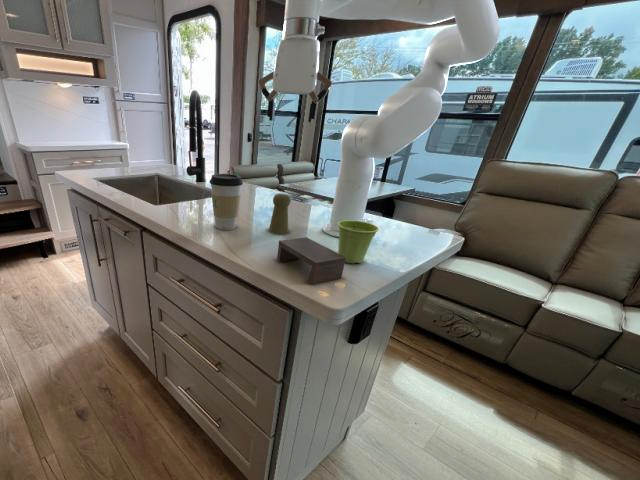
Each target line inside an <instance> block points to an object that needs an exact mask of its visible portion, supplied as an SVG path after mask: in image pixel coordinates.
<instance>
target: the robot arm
mask: <svg viewBox="0 0 640 480" xmlns="http://www.w3.org/2000/svg"><path fill="white" fill-rule="evenodd" d="M320 17H324V18H330V19H337V20H350V21H351V20H354V21H355V20H370V21H371V20H372V21H375V20H376V21H377V20H391V21H392V20H393V21H400V22H404V23H405V22H406V23H412V24H419V25H434V24H437V23H441V22H445V21H448V20H451V19H454V20H455V24H452V25H449V26H447V27H444V28H443V29H441V30H440V31H438V32H437V33H436V34H435V35H434V36H433V37H432V39H431V40H430V41H429V43H428V45H427V48H426V51H425V54H424V59H423V64H422V67H421V69H420V72H419V73H418V74H416V76H415V77H413V78H412V79H411V80H410V81H409V82H407V83H406V84H404V85H402V87H400V88H399V89H397V90H396V91H395V92H393V93H392V94H390V95H389V96H388V97H387V98H386V99H384V101H382V103H381V105H380V106H379V108H378V111H377V115H359V116H357V117H355V118H353V119H352V120H350V121H349V122H348V123H347V125H346V126H345V128H344V129H343V132H342V135H341V142H340V143H341V144H340V164H339V168H338V169H339V170H338V175H337V181H336V185H335V191H334V196H333V201H332V207H331V213H330V218H329V223H327V224H324V225H323V228H322V230H323V232H324V233H326V234H327V235H329V236H332V237H336V238H339V226H338V222H340V221H345V220H352V221H361V222H366V223H370V224H374V221H373V219H372V218H364V216H365V213H366V208H367V203H368V200H369V196H370V192H371V191H370V190H371V187H372V182H373V179H374V174H375V159H378V160H383V159H388V158H390V157H392V156H394V155H396V154H397V153H398V152H400V151H402V150H403V149H404V148H406V147H407V146H409V145H410V144H411V143H413V142H414V141H416V140H417V139H418V138H420V137H421V136H423V134H425V133H426V132H427V131H429V130H430V129H431V128H432V127H433V125H434V124H435V123H436V122H437V120H438V118H439V117H440V114H441V111H442V108H443V98H442V96H443V95H444V93H445V91H446V88H447V84H448V79H449V73H450V69H451V67H454V66H455V67H456V66H461V65H467V64H468V65H469V64H473V63H476V62H480V61H481V60H483V59H485V58H486V57H487V56H489V55H490V54H491V53H492V51H493V50H494V49H495V47H496V46H497V43H498V42H499V37H500V31H501V30H500V29H501V27H500V19H499V16H498V11H497V9H496V6H495V2H494V0H285V7H284V19H283V30H282V39H280V40H279V42H278V46H277V51H276V56H275V60H274V61H275V62H274V67H273V68H274V69H273V71H272V72H270V73H269V74H266V75H264V76H263V77H262V78H260V79H259V80H258V84H259V88H260V91H261V94H262V95H263V96H264V98H265V99H266V101H267V115H266V116H267V118H268V120H269V121H271V122H273V121H274V120H275V112H276V102H275V99H276V98H277V97H278V96H279V95H280V94H282V95H302V96H303V95H306V96H307V95H309V97H310V99H311V103H310V105H309V111H308V112H309V113H308V121H307V122H308V123H309V124H310V123H311V124H312V123H313V120H316V113H317V107H318V104H319V102H321V100H322V99H324V98H325V97H326V96H327V94H328V92H329V90H330V89H331V87H332V85H333V81H332V80H330V79H329V78H327V77H326V76H325V75H323V74H322V73H320V72H319V67H320V55H321V54H320V52H321V51H320V48H321V47H320V41H319V39H318V37H319V36H321V35H324V34H325V26H322V25H320V24H319V21H320ZM269 82H272V89H273V90H272V91H271V92H270V91H269V90H268V87H267V83H269ZM318 82H320V83H321V84H323V88H322V90H321V91H320V92H319V93H318V94H316V89H317V85H318Z"/></svg>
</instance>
